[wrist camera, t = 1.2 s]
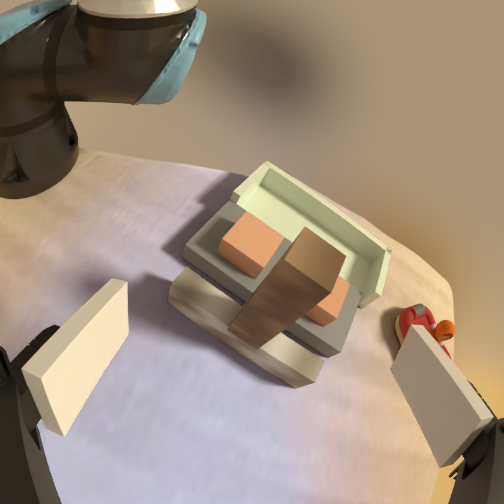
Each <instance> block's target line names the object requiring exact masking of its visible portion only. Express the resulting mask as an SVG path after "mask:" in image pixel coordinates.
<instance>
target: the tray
mask: <svg viewBox="0 0 504 504" xmlns="http://www.w3.org/2000/svg"><path fill="white" fill-rule="evenodd" d="M230 200H231V201H233V202H234V203H236V204H237V205H239V206H240V207H242V208H243V209H245V210H246V211H248V212H249V213H251V214H252V215H254V216H255V217H256V218H258V219H259V220H261V221H262V222H264V223H265V224H267V225H268V226H270V227H271V228H272V229H274V230H275V231H277V232H278V233H280V234H281V235H282V236H284V237H285V238H287V239H288V240H290V241H291V242H293V241H294V240H295V239H296V237H297V236H298V235H299V233H300V232H301V231H302V229H303V228H304V227H305V226H306V227H307V228H308V229H310V230H311V231H313V232H314V233H315V234H317V235H318V236H320V237H321V238H322V239H324V240H325V241H327V242H328V243H329V244H331V245H332V246H333V247H335V248H336V249H338V250H339V251H340V252H342V253H343V254H344V255H346V258H345V261H344V263H343V266H342V268H341V271H340V273H339V276H340V277H341V278H343V279H344V280H346V281H347V282H348V283H350V284H351V285H352V286H354V287H355V288H357V289H358V290H359V291H361V292H362V294H361V297H360V300H359V303H358V307H360V308H361V309H363V308H364V307H366V306H367V305H369V304H370V303H372V302H373V301H374V300H376V299H377V298H379V297H380V296H381V294H382V290H383V286H384V282H385V278H386V274H387V269H388V265H389V260H390V256H391V251H392V250H390V249H389V248H388V247H387V246H385V245H384V244H383V243H382V242H380V241H379V240H378V239H377V238H375V237H374V236H373V235H371V234H370V233H369V232H368V231H366V230H365V229H364V228H362V227H361V226H360V225H358V224H357V223H356V222H354V221H353V220H352V219H350V218H349V217H348V216H346V215H345V214H344V213H342V212H341V211H340V210H338V209H337V208H335V207H334V206H333V205H331V204H330V203H329V202H327V201H326V200H324V199H323V198H322V197H320V196H319V195H317V194H316V193H314V192H313V191H312V190H310V189H309V188H307V187H306V186H304V185H303V184H301V183H300V182H298V181H297V180H295V179H294V178H292V177H291V176H290V175H288V174H286V173H285V172H283V171H282V170H280V169H279V168H277V167H276V166H274V165H273V164H271V163H270V162H268V161H266V162H264V163H263V164H262V165H261V166H260V167H259V168H258V169H257V170H256V171H255V172H254V173H253V174H251V175H250V176H249V177H248V178H247V179H246V180H245V181H244V182H243V183H242V184H241V185H240V186H239V187H237V188H236V189H235V190H234V191H233V194H232V196H231V198H230Z"/></svg>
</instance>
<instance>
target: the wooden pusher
mask: <svg viewBox="0 0 504 504" xmlns="http://www.w3.org/2000/svg"><path fill="white" fill-rule="evenodd" d="M345 258H346V255H344V254H343V253H342V252H340V251H339V250H338V249H336V248H335V247H333V246H332V245H331V244H329V243H328V242H327V241H325V240H324V239H322V238H321V237H320V236H318V235H317V234H315V233H314V232H313V231H311V230H310V229H308V228H307V227H306V226H305V227H304V228H303V229H302V231H301V232H300V233H299V235H298V236H297V237H296V239H295V240H294V241H293V242H292V244H291V245H290V246H289V248H288V249H287V250H286V252H285V253H284V254H283V255H282V257H281V258H280V259H279V261H278V262H277V263H276V264H275V266H274V267H273V268H272V270H271V271H270V272H269V273H268V275H267V276H266V277H265V278H264V280H263V281H262V282H261V284H260V285H259V286H258V287H257V289H256V290H255V291H254V292H253V294H252V295H251V296H250V297H249V299H248V300H247V301H246V302H245V304H244V305H243V306H241V305H240V304H238V303H237V302H235V301H234V300H233V299H231V298H230V297H228V296H227V295H226V294H224V293H223V292H221V291H220V290H218V289H217V288H216V287H214V286H213V285H211V284H210V283H209V282H207V281H206V280H205V279H203V278H202V277H200V276H199V275H198V274H196V273H195V272H194V271H192V270H191V269H189V268H188V267H186V268H185V269H184V270H183V271H182V272H181V273H180V275H179V276H178V277H177V278H176V279H175V280H174V281H173V282H172V284H171V285H170V290H169V294H168V299H167V302H168V303H170V304H171V305H172V306H174V307H175V308H176V309H177V310H179V311H180V312H181V313H183V314H184V315H186V316H187V317H188V318H190V319H191V320H192V321H194V322H195V323H196V324H198V325H199V326H201V327H202V328H203V329H205V330H206V331H208V332H209V333H210V334H212V335H213V336H215V337H216V338H218V339H219V340H221V341H222V342H223V343H225V344H226V345H228V346H229V347H231V348H232V349H234V350H235V351H237V352H238V353H240V354H241V355H243V356H244V357H246V358H247V359H249V360H250V361H252V362H253V363H255V364H257V365H258V366H260V367H261V368H263V369H264V370H266V371H268V372H269V373H271V374H272V375H274V376H276V377H277V378H279V379H280V380H282V381H284V382H285V383H287V384H289V385H290V386H292V387H294V388H295V389H296V388H299V387H303V386H306V385H309V384H312V383H315V381H316V379H317V377H318V375H319V372H320V370H321V368H322V366H323V363H324V360H322V359H321V358H319V357H318V356H316V355H314V354H313V353H311V352H310V351H308V350H307V349H305V348H304V347H302V346H301V345H299V344H297V343H296V342H294V341H293V340H291V339H290V338H288V337H287V336H285V335H284V334H282V333H281V332H282V331H283V330H285V329H286V328H287V327H289V326H290V325H291V324H293V323H294V322H295V321H296V320H298V319H299V318H300V317H302V316H303V315H304V314H305V313H307V312H308V311H309V310H311V309H312V308H313V307H314V306H316V305H317V304H318V303H319V302H321V301H322V300H323V299H324V298H326V297H327V296H328V295H329V294H331V292H332V290H333V288H334V285H335V283H336V280H337V278H338V276H339V273H340V271H341V268H342V266H343V263H344V261H345Z"/></svg>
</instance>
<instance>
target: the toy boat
mask: <svg viewBox="0 0 504 504" xmlns="http://www.w3.org/2000/svg"><path fill="white" fill-rule="evenodd" d="M411 324H412V325H423V326H424V327H425V329H426V330H427V331H428V332H429V333H430V334H431V336H432V337H433V338H434V339H435V340H436V342H437V343H438V344H439V345H440V347H441V348H442V349H443V350H444V351H445V353H446V354H447V355H448V356H449V358H450V359H451V356H450V354H449V353H448V351H447V349H446V348H445V346H444V343H443V341H445V340H449V339H451V338H452V337H453V336H454V334H455V327H454V324H453V323H452V322H451V321H449V320H443V321H441V322H439V323H438V324H437V325H436V323H435V320H434V318H433V315H432V313H431V311H430V310H429V309H428V308H427V307H426V306H424V305H423V304H417V305H414V306H411V307H408V308H405V309H404V310H403V311H402V312H401V313H400V314H399V316H398V317H397V319H396V322H395V330H396V333H397V336H398V339H399V341H400V344H401V346H402V344H403V341H404V339H405V337H406V335H407V332H408V330H409V328H410V325H411Z"/></svg>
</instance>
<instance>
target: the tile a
mask: <svg viewBox="0 0 504 504" xmlns="http://www.w3.org/2000/svg"><path fill="white" fill-rule="evenodd" d="M284 238H285V237H283V236H282V235H281V234H279V233H278V232H276V231H275V230H273V229H272V228H271V227H269V226H268V225H266V224H265V223H263V222H262V221H260V220H259V219H257V218H256V217H255V216H253V215H252V214H250V213H249V212H247V211H246V213H245V214H244V215H243V216H242V217H241V218H240V219H239V220H238V221H237V222H236V224H235V225H234V226H233V227H232V228H231V229H230V230H229V231H228V233H227V234H226V235H225V236H224V237H223V238H222V240H221V242H220V245H219V247H218V249H217V251H216V252H217V253H218V254H220V255H221V256H222V257H224V258H225V259H227V260H228V261H230V262H231V263H232V264H234V265H235V266H237V267H238V268H239V269H241V270H242V271H244V272H245V273H247V274H248V275H249V276H251V277H252V278H254V279H256V278H257V277H258V275H259V274H260V273H261V271H262V270H263V269H264V267H265V266H266V264H267V263H268V261H269V260H270V258H271V257H272V255H273V254H274V252H275V251H276V249H277V248H278V247H279V245H280V244H281V242H282V241H283V239H284Z"/></svg>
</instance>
